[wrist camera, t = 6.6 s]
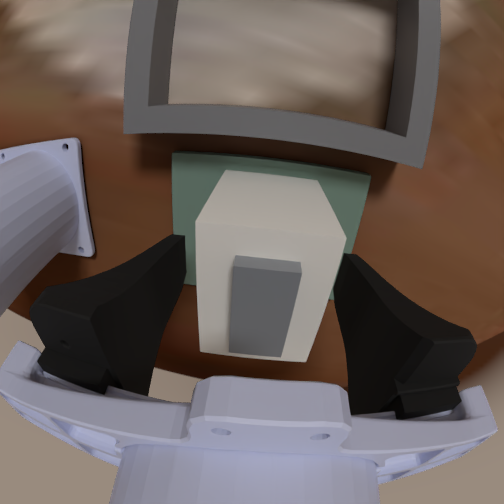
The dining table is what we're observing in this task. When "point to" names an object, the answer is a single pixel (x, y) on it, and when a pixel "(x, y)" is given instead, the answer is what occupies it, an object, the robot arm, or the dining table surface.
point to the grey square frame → (283, 121)
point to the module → (265, 265)
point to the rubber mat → (214, 165)
